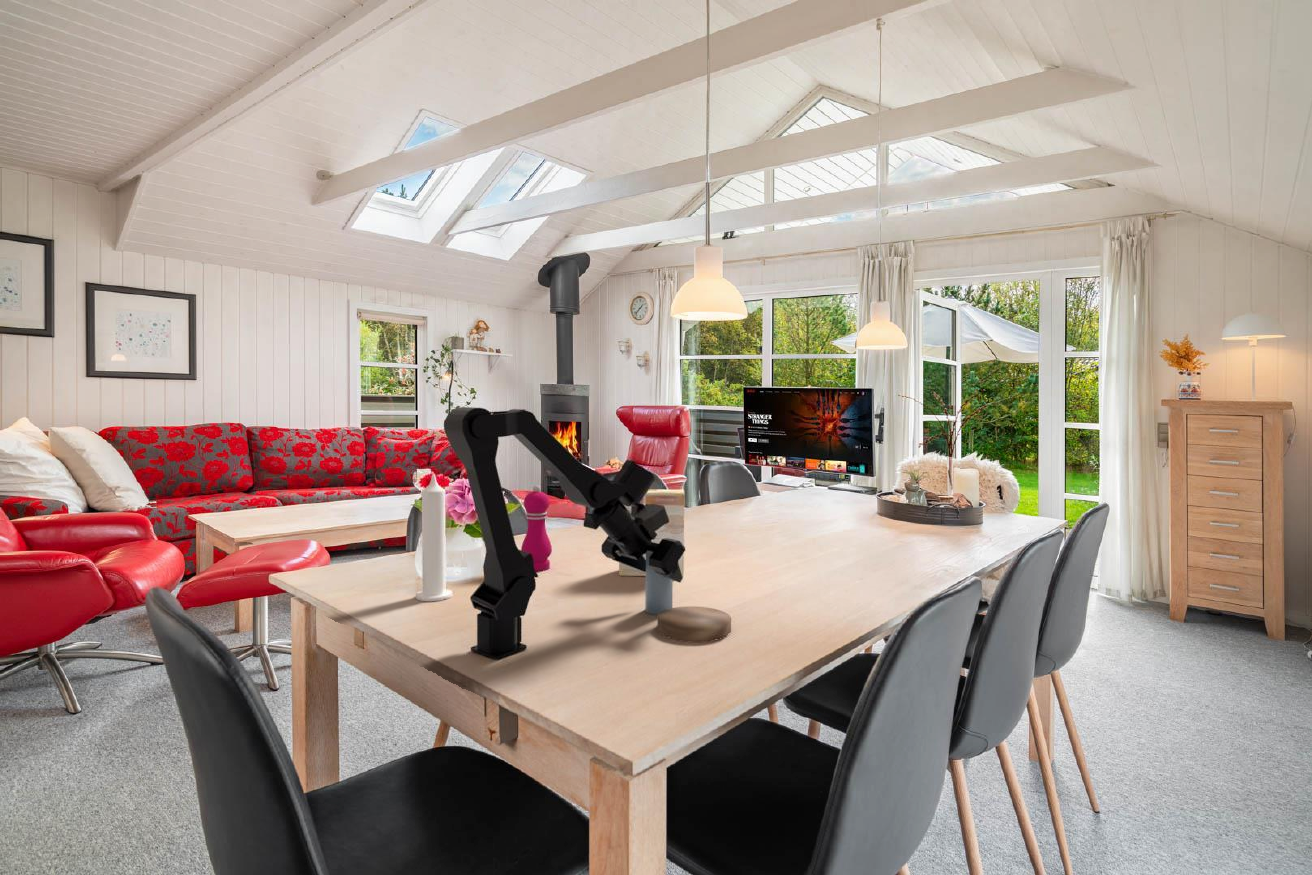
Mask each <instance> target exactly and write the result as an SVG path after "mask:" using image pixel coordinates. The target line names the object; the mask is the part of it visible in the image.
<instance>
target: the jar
mask: <svg viewBox="0 0 1312 875" xmlns="http://www.w3.org/2000/svg"><path fill="white" fill-rule="evenodd" d="M650 556H651V555H648V554H646V576H645V599H644V600H645V601H644V602H645V604H644V610H645V613H647V614H649V615H655V616H658V614H659V613H660V612H662V611H664V610H667V609H671V608H673V600H674V599H673V598H674V597H673V588H674V587H673V586H674V583H673V581H674V580H672V579H669V578H667V577H665V576H663V575H660V574H658V573H656V572H655V570H653V569H652V568H651V567H650V566H649V557H650Z"/></svg>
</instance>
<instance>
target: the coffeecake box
mask: <svg viewBox="0 0 1312 875" xmlns="http://www.w3.org/2000/svg"><path fill="white" fill-rule="evenodd" d="M640 503H642V504H643V505H644V506H645V505H646V504H657V505H662V506H664V507H665V509H666V512H667V515H668V518H669V522H668V523H667V524H664V525H663V526H662V527H660V528H659V529H658V530H656V531H655V532H656V533H657V536H656V537H655V539H654V540H653V539H652V540H651V542H654V543H658V544H659V543H660V541H661V540H662V539H665V538H669V539H673V540H678V541H680V542H681V543H682V544H683V545H684V546H685V489H658V488H657V489H656V488H655V489H654V488H653V489H651V488H650V489H649V490H648V492H647V493H646V494H645V496H644V497H643V499H642V500H641V501H640ZM624 506H625V505H624ZM631 506H632V504H631ZM631 506H625V507H626V508H627V509H628V511H629V512H630V513H631ZM643 557H644V558H645V560H646V554H644V555H643ZM618 563H619V564H618V575H620V576H619V577H621V576H623V577H630V576H631V577H634V576H635V577H646V572H643V571H641V570H638V569H636V568H633V567H630V566H628V565H625V564H622V563H620V562H618ZM678 564H679V567H680V570H681V574H682V577H683V578H684V572H685V552H684V553H683V555H682V556H681V558H680V559H679V561H678Z"/></svg>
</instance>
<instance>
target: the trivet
mask: <svg viewBox="0 0 1312 875" xmlns="http://www.w3.org/2000/svg"><path fill="white" fill-rule="evenodd" d="M656 620H657V624H656V626H657V627H656V628H657V629H658V630H657V632H658V631H659V632H658V633H659V634H660V633H661V634H663V635H664V637H665V636H666V638H668V637H670V638H669V639H671V638H674V639H677V640H676V641H679V640H682V641H681V642H687V641H691V642H690V643H703V642H702V641H708V642H712V641H711V640H715V639H719V640H721V639H720V638H723V637H725V638H727V637H728V636H729V635H730V634H731V633H732V617H731V615H730V614H729V613H727V612H725V611H723V610H721V609H720V610H719V609H716V608H711V607H705V606H692V605H691V606H678V607H676V606H675V607H672V608H671V609H667V610H664V611H662V612H660V613H659V614H658V615H657V619H656ZM729 633H730V634H729ZM661 634H660V635H661ZM728 634H729V635H728ZM663 635H662V636H663ZM727 635H728V636H727ZM726 636H727V637H726ZM674 639H673V640H674ZM723 639H724V638H723ZM715 641H716V640H715Z"/></svg>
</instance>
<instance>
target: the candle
mask: <svg viewBox="0 0 1312 875" xmlns="http://www.w3.org/2000/svg"><path fill="white" fill-rule="evenodd" d="M421 511H422V512H421V537H422V538H421V540H422V541H421V542H422V543H421V546H422V547H421V548H422V549H421V551H422V552H421V554H422V555H421V556H422V557H421V559H422V560H421V564H422V565H421V566H422V571H421V572H422V575H421V576H422V577H421V579H422V584H421V585H422V589H421V590H420V591H418V592H416V594H415V599H416V600H418V601H420V602H439V601H445V600H447V599H451V597H453V591H452V590H451V589H448V588H447V586H446V585H447V582H446V581H447V576H446V574H447V573H446V572H447V569H446V567H447V566H446V564H447V563H446V560H447V558H446V557H447V556H446V552H447V551H446V546H447V545H446V536H447V535H446V490H445V489H444V488H443V487H442V486H440V485H439V483H438V482H437V478H436V475H435V473H433V474H432V475H431V479H430V482H429V485H428V486H426V487H425V488H423V490H422V491H421ZM444 599H445V600H444Z"/></svg>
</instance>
